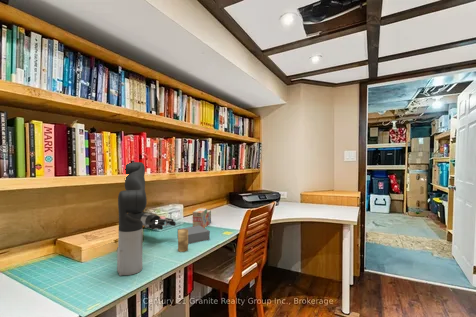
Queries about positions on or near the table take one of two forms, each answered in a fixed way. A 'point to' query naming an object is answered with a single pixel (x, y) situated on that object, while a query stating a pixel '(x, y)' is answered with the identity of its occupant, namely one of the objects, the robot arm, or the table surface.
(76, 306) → the table surface
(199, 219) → the printed cardboard box
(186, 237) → the cylinder
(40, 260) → the table surface
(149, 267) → the table surface
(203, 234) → the plinth
